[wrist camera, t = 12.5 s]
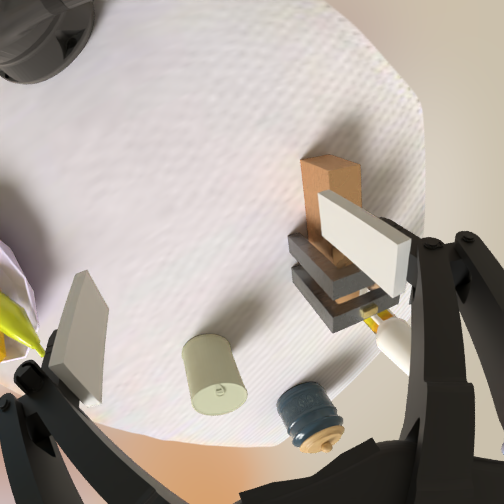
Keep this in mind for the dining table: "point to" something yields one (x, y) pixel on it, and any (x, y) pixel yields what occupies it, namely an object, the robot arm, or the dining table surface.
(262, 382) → the dining table surface
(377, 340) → the champagne flute
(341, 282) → the collar
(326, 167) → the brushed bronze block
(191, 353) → the can
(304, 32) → the dining table surface
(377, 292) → the collar
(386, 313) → the supplement bottle
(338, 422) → the canister
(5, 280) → the fruit bowl
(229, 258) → the dining table surface
